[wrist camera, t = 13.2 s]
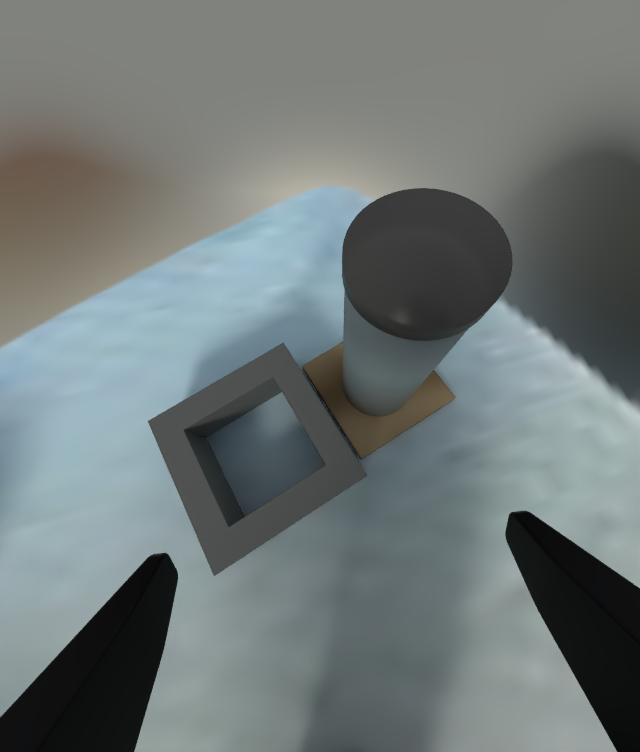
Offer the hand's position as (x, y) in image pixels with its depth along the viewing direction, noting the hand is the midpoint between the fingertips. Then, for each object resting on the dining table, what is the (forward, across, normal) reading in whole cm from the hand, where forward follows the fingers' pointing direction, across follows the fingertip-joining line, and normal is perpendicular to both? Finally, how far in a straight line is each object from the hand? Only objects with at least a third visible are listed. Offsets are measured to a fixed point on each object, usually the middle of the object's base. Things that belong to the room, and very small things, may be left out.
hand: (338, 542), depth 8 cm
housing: (+12, +5, +7) cm, 15 cm away
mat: (+15, -4, +4) cm, 16 cm away
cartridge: (+15, -4, +4) cm, 16 cm away
